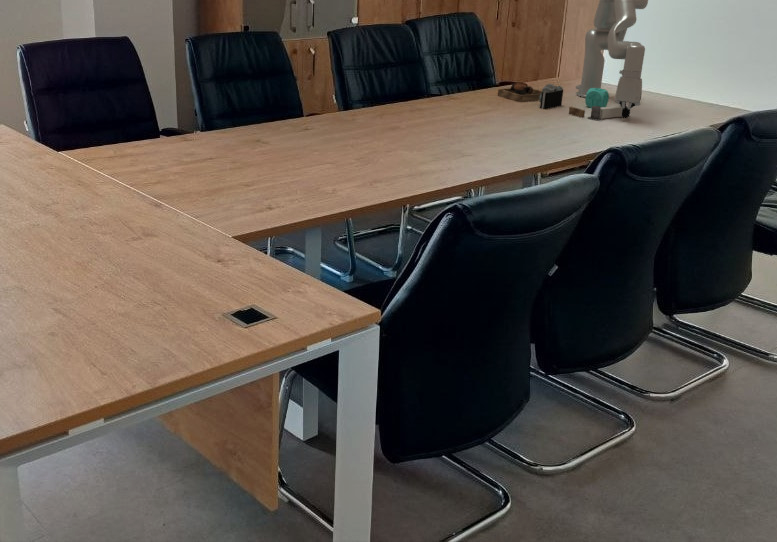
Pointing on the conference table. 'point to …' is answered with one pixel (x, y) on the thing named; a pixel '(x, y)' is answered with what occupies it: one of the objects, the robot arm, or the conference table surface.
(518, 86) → the pottery mug
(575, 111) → the brown and grey piece
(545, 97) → the camera
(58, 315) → the conference table surface
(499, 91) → the wooden picture frame
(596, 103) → the decorative dice
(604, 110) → the leg
